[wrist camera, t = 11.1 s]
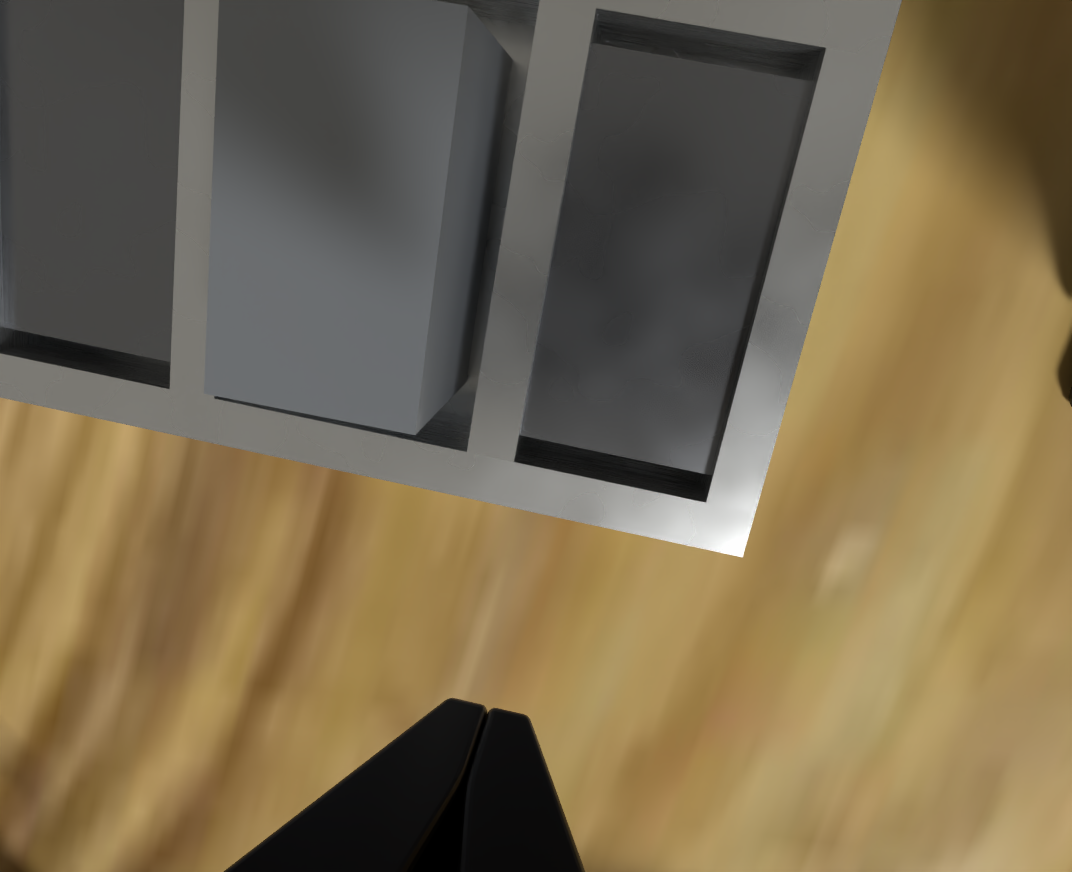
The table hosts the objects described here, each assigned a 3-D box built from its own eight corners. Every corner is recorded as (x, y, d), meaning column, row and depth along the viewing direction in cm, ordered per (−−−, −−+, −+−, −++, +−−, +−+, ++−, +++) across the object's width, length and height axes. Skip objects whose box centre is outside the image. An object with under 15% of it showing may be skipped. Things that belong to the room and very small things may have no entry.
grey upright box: (512, 59, 16) (468, 5, 12) (466, 381, 18) (414, 434, 14) (327, 29, 17) (220, -33, 12) (303, 350, 19) (203, 394, 14)
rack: (853, 20, 16) (909, -28, 13) (724, 497, 19) (742, 557, 16) (62, -113, 17) (-76, -191, 14) (63, 358, 21) (-47, 387, 17)
